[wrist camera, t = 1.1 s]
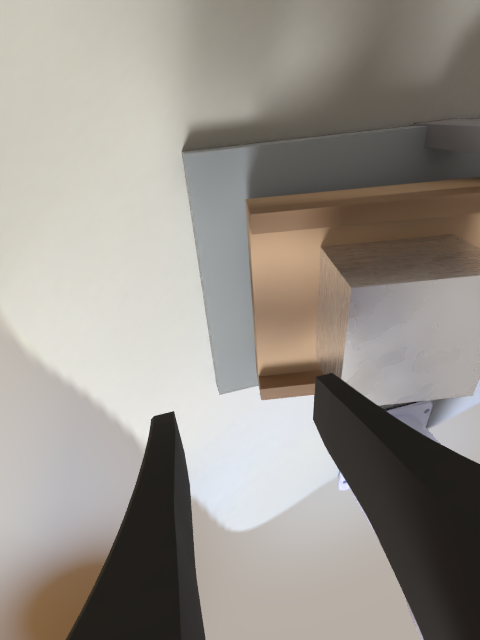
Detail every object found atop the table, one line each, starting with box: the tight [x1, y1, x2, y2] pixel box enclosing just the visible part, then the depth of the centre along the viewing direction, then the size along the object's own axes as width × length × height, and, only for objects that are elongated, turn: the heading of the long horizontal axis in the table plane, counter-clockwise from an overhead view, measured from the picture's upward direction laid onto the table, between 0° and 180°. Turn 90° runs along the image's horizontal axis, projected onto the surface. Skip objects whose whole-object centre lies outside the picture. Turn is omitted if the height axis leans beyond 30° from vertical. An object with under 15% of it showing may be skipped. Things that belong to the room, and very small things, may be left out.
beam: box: [245, 177, 480, 400], centre depth 17 cm, size 11×22×3 cm, turn 94°
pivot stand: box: [182, 118, 480, 401], centre depth 19 cm, size 14×26×6 cm, turn 94°
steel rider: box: [315, 234, 480, 406], centre depth 15 cm, size 6×6×4 cm
